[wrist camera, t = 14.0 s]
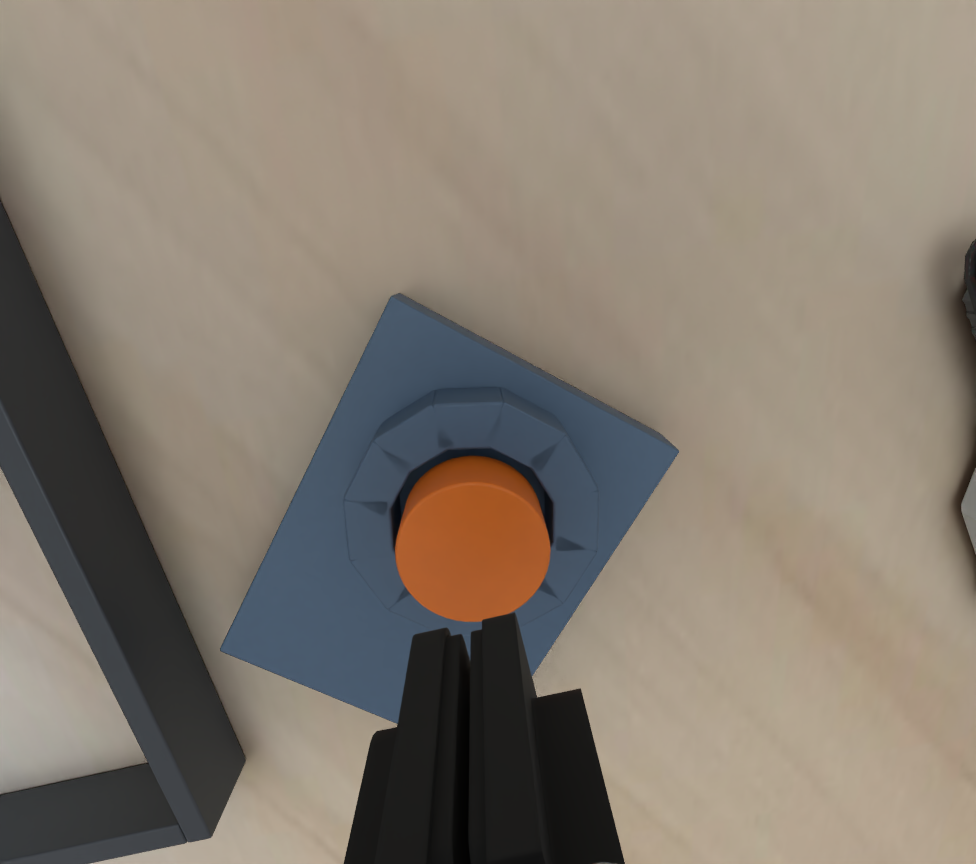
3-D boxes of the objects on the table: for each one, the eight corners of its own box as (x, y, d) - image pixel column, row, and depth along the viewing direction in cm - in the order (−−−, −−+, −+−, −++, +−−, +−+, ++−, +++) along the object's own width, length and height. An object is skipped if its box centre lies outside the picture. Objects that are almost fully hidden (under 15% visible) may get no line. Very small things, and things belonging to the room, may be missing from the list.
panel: (398, 292, 17) (380, 300, 13) (661, 433, 18) (705, 473, 15) (239, 618, 19) (192, 693, 16) (478, 719, 21) (480, 807, 18)
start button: (442, 430, 15) (438, 455, 13) (566, 493, 15) (580, 525, 13) (380, 546, 16) (368, 585, 14) (499, 601, 16) (504, 645, 14)
